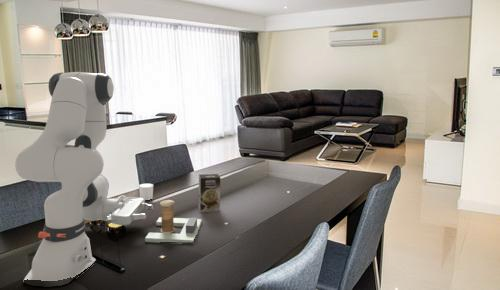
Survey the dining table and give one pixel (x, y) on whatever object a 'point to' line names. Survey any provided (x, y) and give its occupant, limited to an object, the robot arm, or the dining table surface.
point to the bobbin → (167, 216)
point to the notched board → (186, 234)
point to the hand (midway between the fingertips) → (149, 211)
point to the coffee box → (209, 193)
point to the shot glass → (146, 191)
